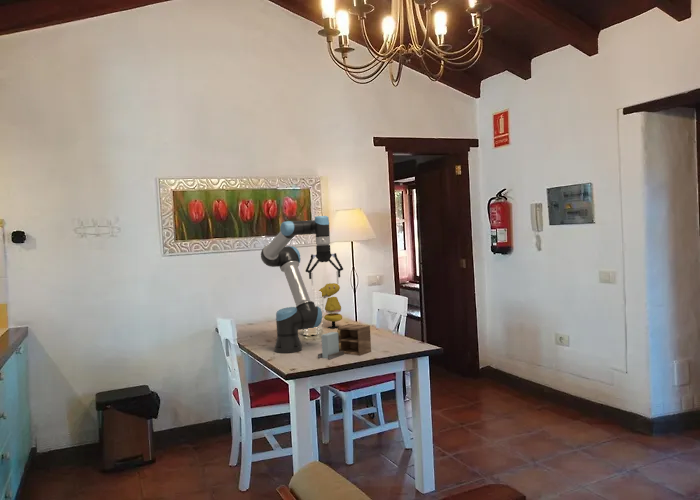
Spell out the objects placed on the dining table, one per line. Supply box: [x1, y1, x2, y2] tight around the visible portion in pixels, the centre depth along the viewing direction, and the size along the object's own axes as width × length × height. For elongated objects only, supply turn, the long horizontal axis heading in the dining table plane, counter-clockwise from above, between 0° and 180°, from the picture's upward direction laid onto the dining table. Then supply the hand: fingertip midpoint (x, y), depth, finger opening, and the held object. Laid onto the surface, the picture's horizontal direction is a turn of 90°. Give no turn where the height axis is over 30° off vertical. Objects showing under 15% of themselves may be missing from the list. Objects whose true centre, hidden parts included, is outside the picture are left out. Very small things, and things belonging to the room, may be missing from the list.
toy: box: [318, 282, 343, 330], centre depth 385 cm, size 16×12×30 cm
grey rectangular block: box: [321, 331, 339, 360], centre depth 298 cm, size 4×9×12 cm, turn 144°
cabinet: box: [317, 323, 372, 360], centre depth 300 cm, size 17×24×14 cm
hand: (325, 284), depth 307 cm, fingers open, 13 cm apart
